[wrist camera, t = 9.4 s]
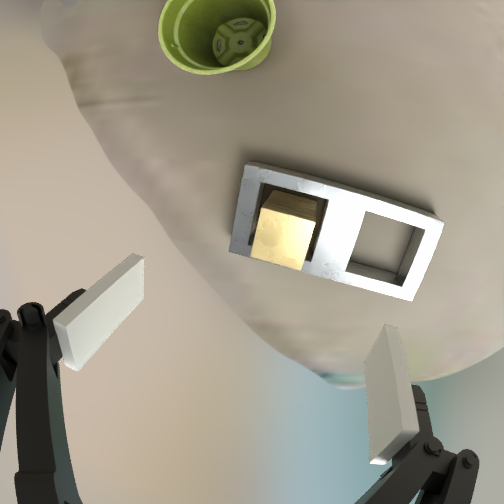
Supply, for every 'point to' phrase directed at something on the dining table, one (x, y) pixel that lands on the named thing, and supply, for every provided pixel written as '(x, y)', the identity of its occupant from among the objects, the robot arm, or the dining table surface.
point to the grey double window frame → (340, 229)
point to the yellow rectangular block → (284, 229)
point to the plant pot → (216, 34)
